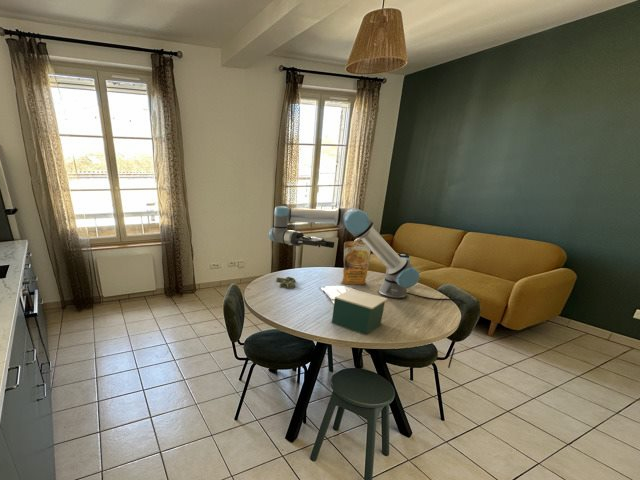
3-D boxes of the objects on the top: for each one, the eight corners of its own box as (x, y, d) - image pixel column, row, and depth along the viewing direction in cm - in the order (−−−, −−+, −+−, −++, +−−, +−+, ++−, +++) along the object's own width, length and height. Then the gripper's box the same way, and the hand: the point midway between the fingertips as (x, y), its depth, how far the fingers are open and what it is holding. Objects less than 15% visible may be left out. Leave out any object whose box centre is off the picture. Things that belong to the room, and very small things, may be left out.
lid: (387, 300, 156) (387, 298, 156) (372, 309, 145) (372, 307, 145) (351, 290, 169) (351, 288, 168) (334, 298, 158) (334, 296, 157)
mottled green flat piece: (275, 279, 225) (276, 276, 225) (293, 279, 226) (293, 276, 225) (280, 288, 209) (280, 285, 208) (298, 288, 209) (298, 285, 208)
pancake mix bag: (337, 281, 223) (342, 240, 212) (364, 281, 224) (371, 240, 213) (340, 284, 216) (346, 242, 206) (368, 284, 217) (375, 242, 207)
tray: (350, 287, 212) (351, 281, 210) (369, 305, 186) (370, 299, 185) (319, 287, 211) (320, 282, 209) (333, 306, 185) (334, 300, 183)
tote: (380, 323, 162) (385, 299, 157) (365, 334, 151) (370, 309, 146) (347, 313, 173) (351, 290, 169) (331, 322, 162) (334, 298, 158)
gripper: (300, 243, 182) (339, 250, 167) (286, 246, 174) (325, 254, 158) (301, 229, 179) (341, 235, 164) (287, 232, 171) (327, 239, 155)
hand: (333, 245), depth 161 cm, fingers closed
